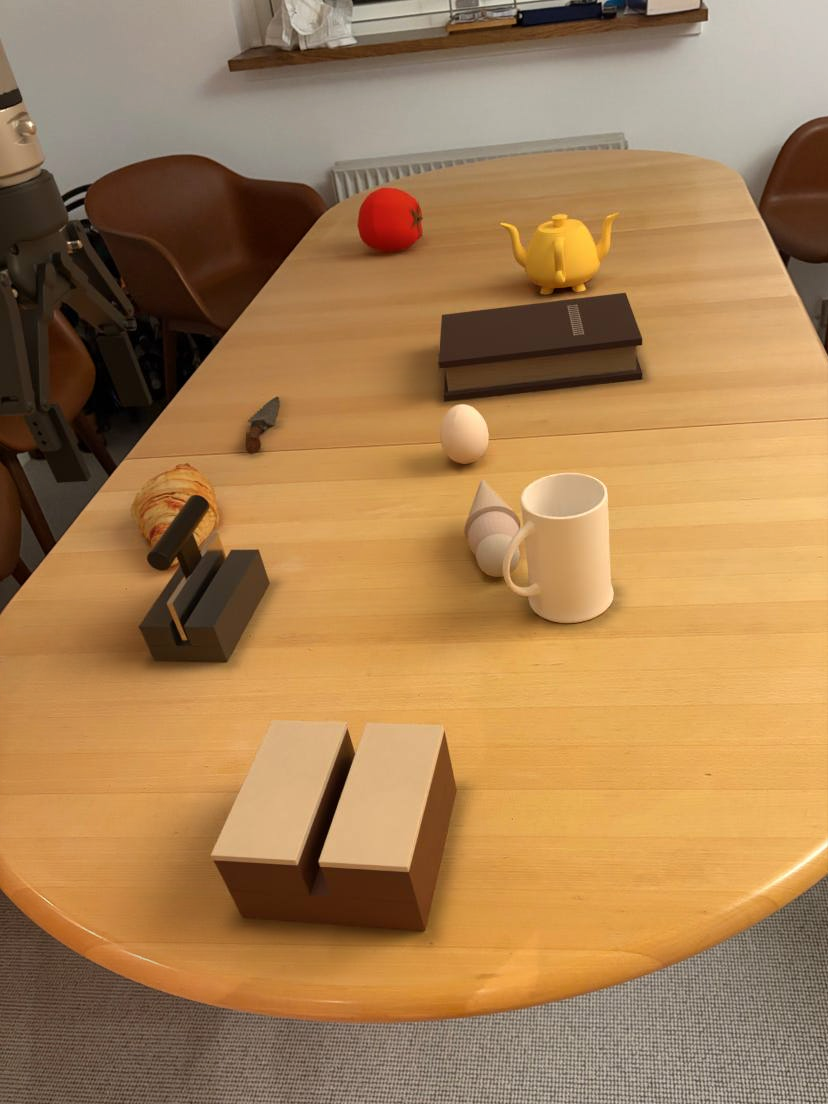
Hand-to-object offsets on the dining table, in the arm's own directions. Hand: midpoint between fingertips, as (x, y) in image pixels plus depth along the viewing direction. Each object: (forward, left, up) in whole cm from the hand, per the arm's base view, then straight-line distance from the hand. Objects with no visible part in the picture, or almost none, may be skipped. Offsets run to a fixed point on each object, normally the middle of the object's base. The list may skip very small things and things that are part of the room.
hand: (108, 440), depth 80 cm
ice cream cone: (+30, +15, -23) cm, 40 cm away
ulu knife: (+2, +2, -21) cm, 21 cm away
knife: (-8, +46, -23) cm, 52 cm away
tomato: (-6, +122, -23) cm, 125 cm away
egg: (+24, +34, -23) cm, 48 cm away
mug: (+38, +5, -23) cm, 44 cm away
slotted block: (+2, +2, -23) cm, 23 cm away
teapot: (+31, +94, -23) cm, 102 cm away
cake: (+25, -26, -23) cm, 42 cm away
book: (+30, +63, -23) cm, 74 cm away
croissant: (-10, +20, -23) cm, 32 cm away
